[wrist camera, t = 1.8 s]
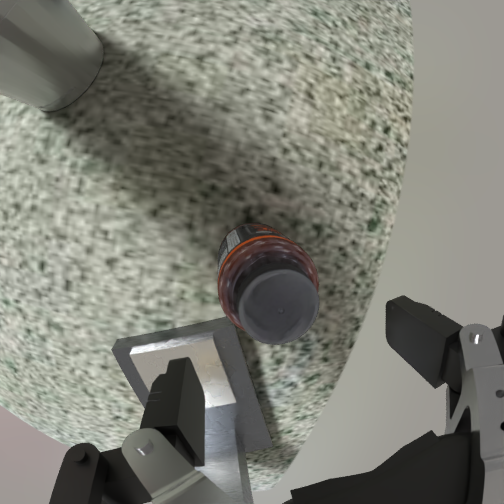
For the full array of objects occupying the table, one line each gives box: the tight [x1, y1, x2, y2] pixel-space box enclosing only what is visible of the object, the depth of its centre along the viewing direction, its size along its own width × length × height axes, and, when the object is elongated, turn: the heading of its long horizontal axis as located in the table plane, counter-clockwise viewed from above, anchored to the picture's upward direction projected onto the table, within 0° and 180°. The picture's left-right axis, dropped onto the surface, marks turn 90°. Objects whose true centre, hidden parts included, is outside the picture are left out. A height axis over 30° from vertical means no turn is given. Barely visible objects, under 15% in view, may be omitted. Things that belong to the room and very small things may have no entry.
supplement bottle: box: [218, 223, 319, 345], centre depth 18 cm, size 6×6×11 cm
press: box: [111, 317, 273, 504], centre depth 21 cm, size 19×12×12 cm, turn 13°
